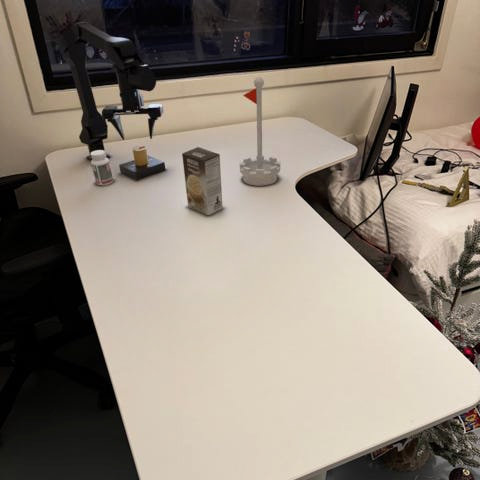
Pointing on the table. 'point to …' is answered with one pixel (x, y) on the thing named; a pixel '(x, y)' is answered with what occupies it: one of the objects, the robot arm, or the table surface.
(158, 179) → the table surface
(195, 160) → the coffee box
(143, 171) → the black flat block
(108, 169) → the pill bottle
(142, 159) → the handle
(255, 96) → the flag stand
